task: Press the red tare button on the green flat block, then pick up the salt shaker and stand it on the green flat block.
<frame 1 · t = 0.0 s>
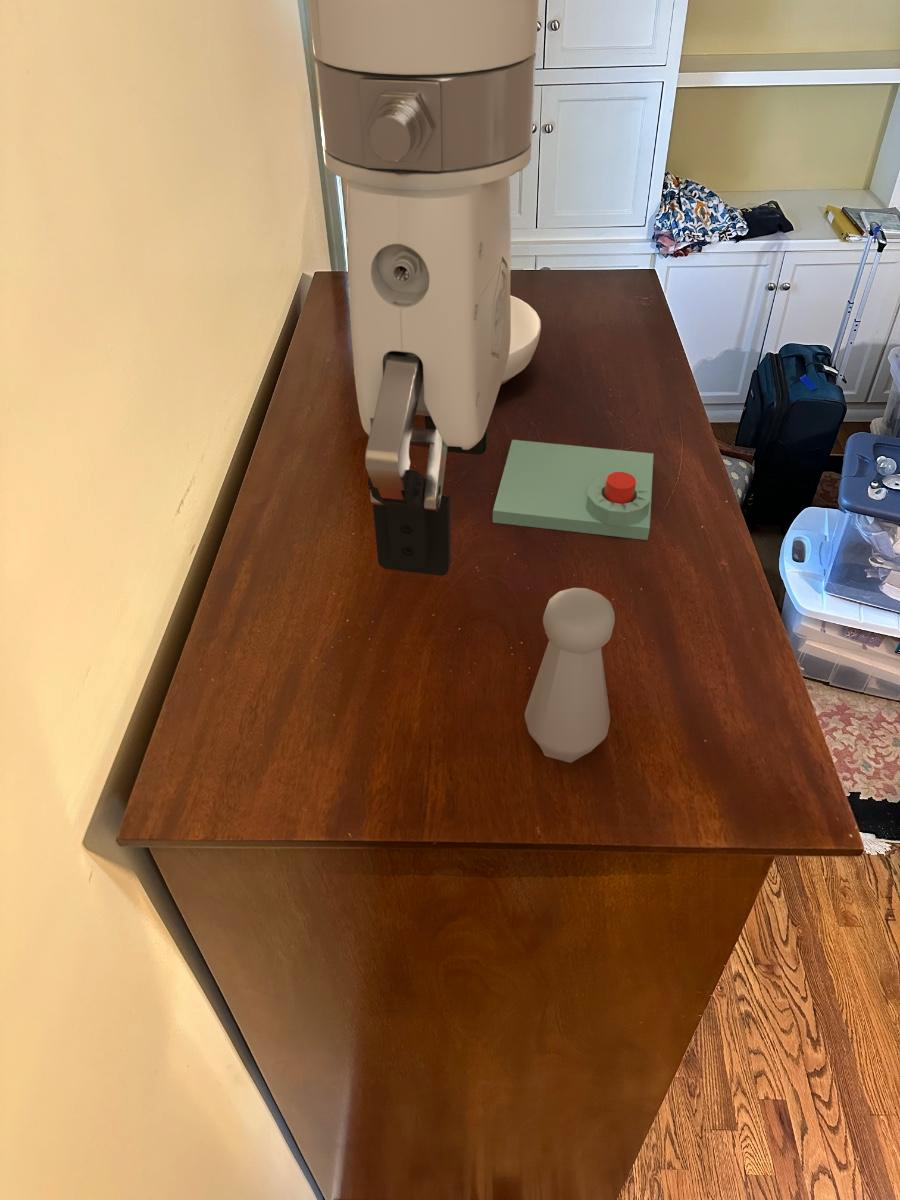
hand: (437, 504, 42), 23 cm above the dresser top, tool pointing down, fingers open, 9 cm apart
bowl: (453, 374, 100), on the dresser top
green flat block: (575, 492, 82), on the dresser top
tare button: (620, 487, 76), point 4 cm above the dresser top, slide at 0.2 cm
apple: (406, 316, 111), on the dresser top
salt shaker: (564, 740, 61), on the dresser top
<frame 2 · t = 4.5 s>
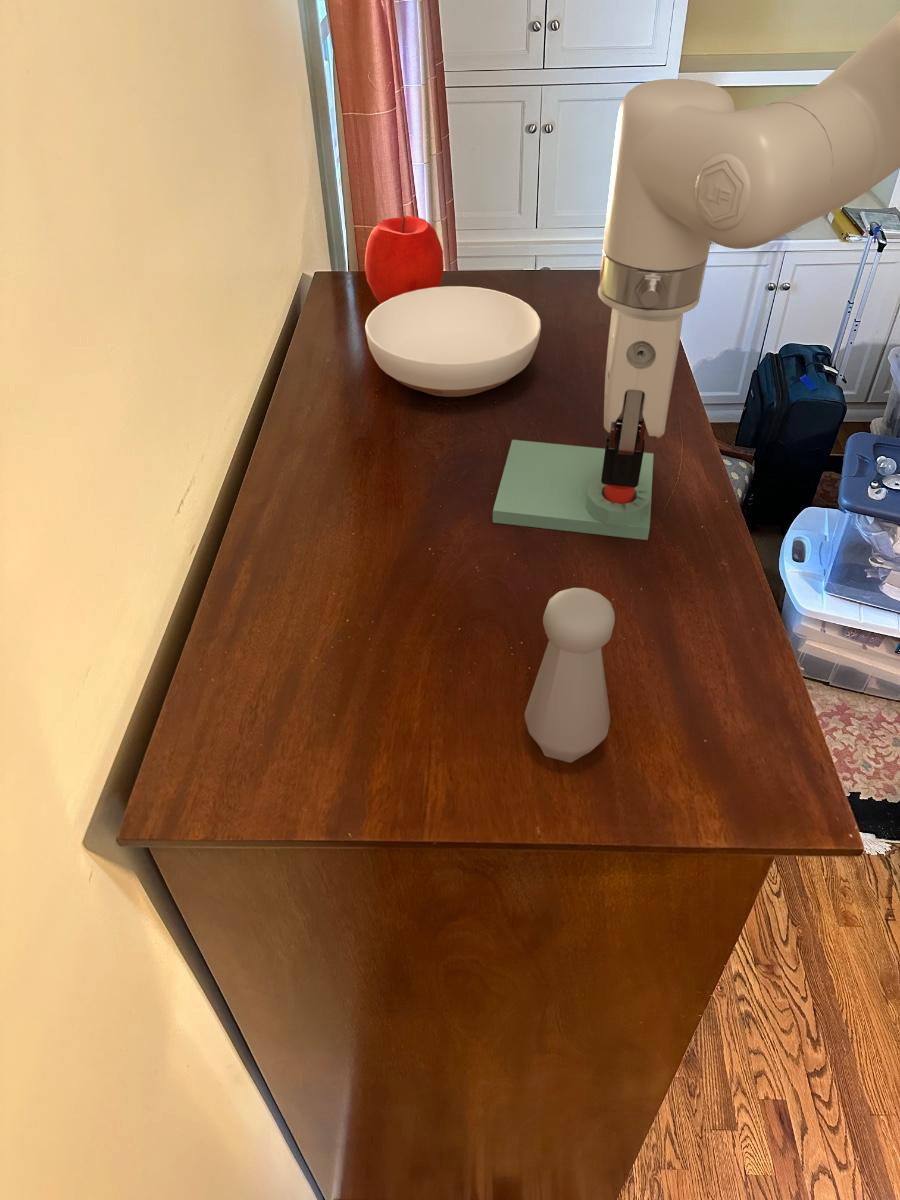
hand: (619, 480, 76), 4 cm above the dresser top, tool pointing down, fingers closed
tare button: (619, 489, 77), point 3 cm above the dresser top, slide at 0.0 cm, touching gripper
everything else where it was.
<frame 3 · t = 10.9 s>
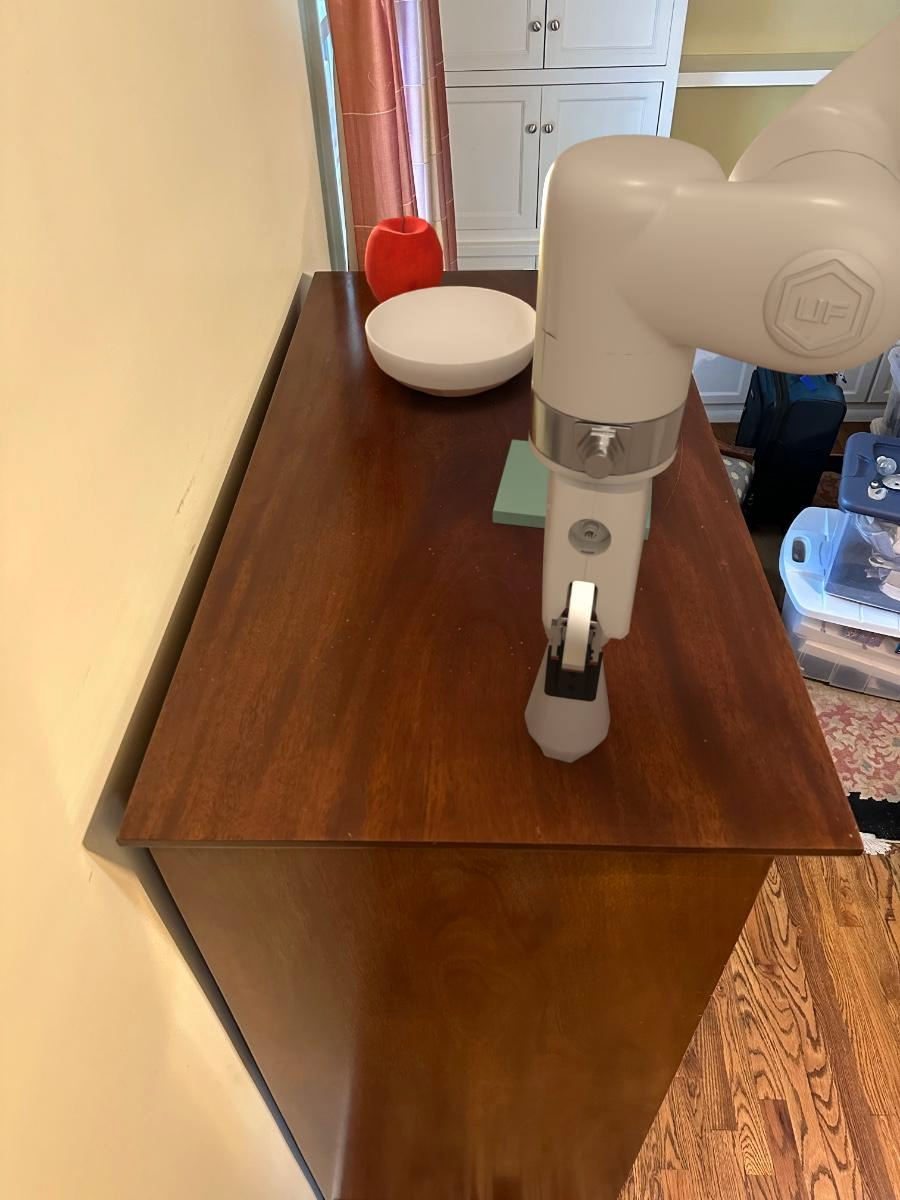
hand: (573, 664, 55), 8 cm above the dresser top, tool pointing down, fingers closed on salt shaker, 4 cm apart
tare button: (619, 488, 76), point 4 cm above the dresser top, slide at 0.2 cm
salt shaker: (564, 740, 61), on the dresser top, touching gripper
everything else where it was.
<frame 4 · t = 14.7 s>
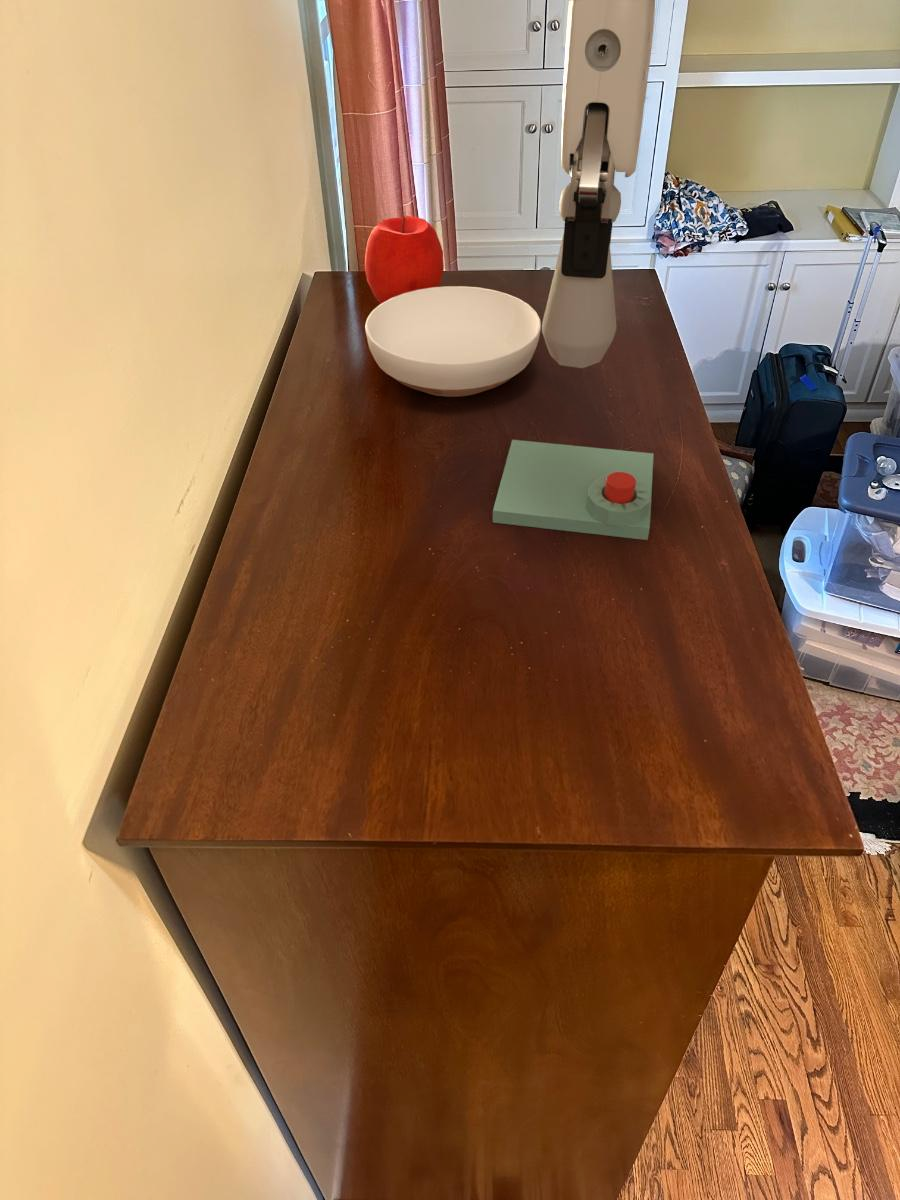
hand: (586, 259, 64), 23 cm above the dresser top, tool pointing down, fingers closed on salt shaker, 4 cm apart
salt shaker: (576, 358, 69), point 15 cm above the dresser top, touching gripper
everything else where it was.
when the fingers open (9 cm above the dresser top, at t = 18.8 s): salt shaker stays where it is, resting on green flat block.
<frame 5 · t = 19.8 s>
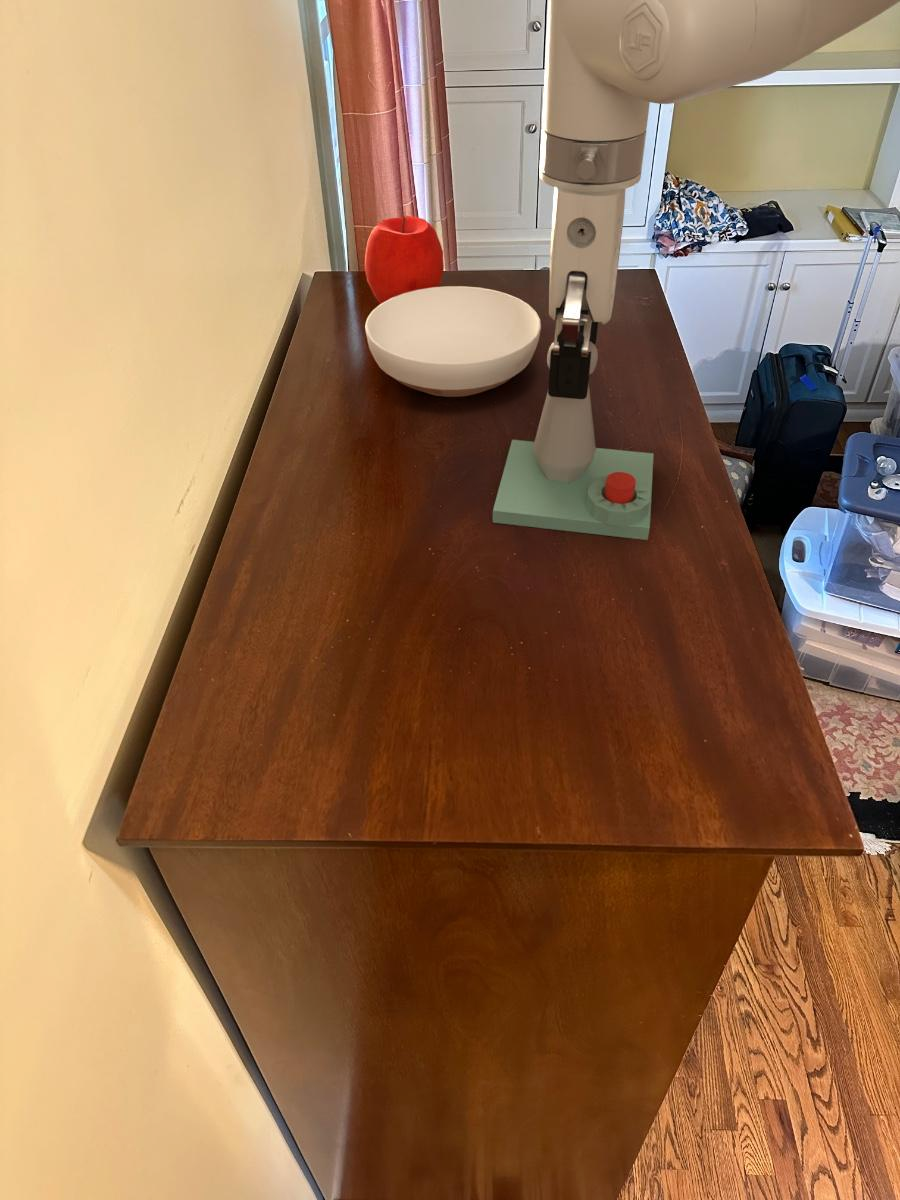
hand: (573, 368, 75), 12 cm above the dresser top, tool pointing down, fingers open, 9 cm apart
salt shaker: (562, 472, 82), point 1 cm above the dresser top, touching green flat block
everything else where it was.
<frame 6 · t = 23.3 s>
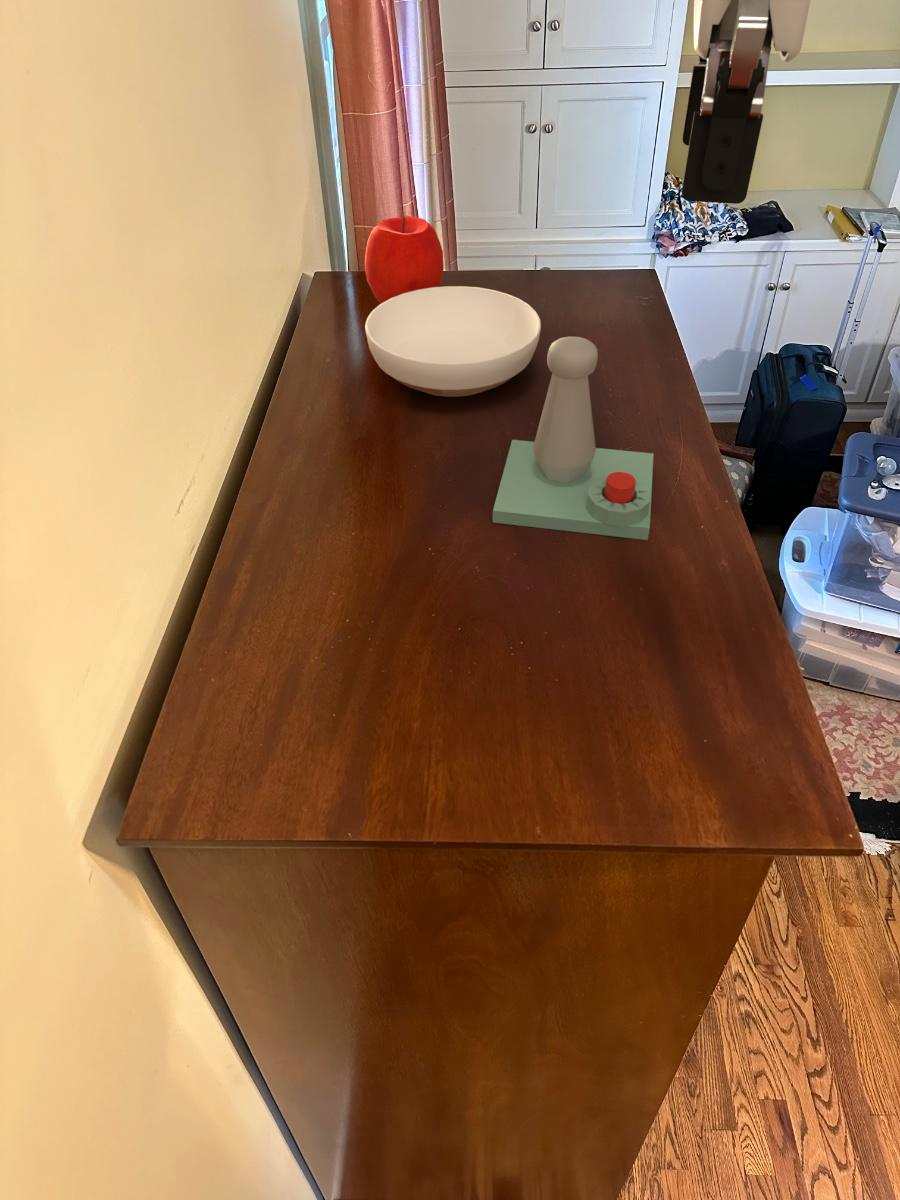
hand: (710, 170, 48), 33 cm above the dresser top, tool pointing down, fingers open, 9 cm apart
nothing on the dresser top moved.
at the end: tare button pushed in 0.9 cm at the most during the clip, back to 0.2 cm at the end; salt shaker inside the target area on the green flat block (2.1 cm from its centre), point 1.2 cm above the green flat block's base; salt shaker touching green flat block; salt shaker tilted 0° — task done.
